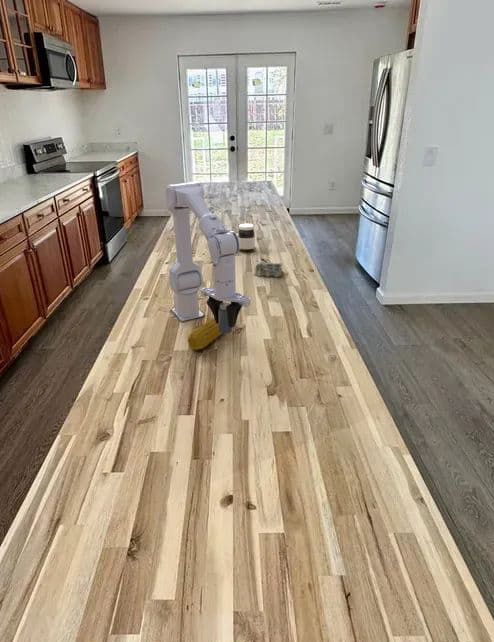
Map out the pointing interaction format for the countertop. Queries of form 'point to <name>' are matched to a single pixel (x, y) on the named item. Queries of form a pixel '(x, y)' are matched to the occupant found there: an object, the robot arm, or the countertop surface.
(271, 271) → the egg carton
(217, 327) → the food
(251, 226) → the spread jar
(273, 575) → the countertop surface
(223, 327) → the shaker
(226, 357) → the countertop surface
